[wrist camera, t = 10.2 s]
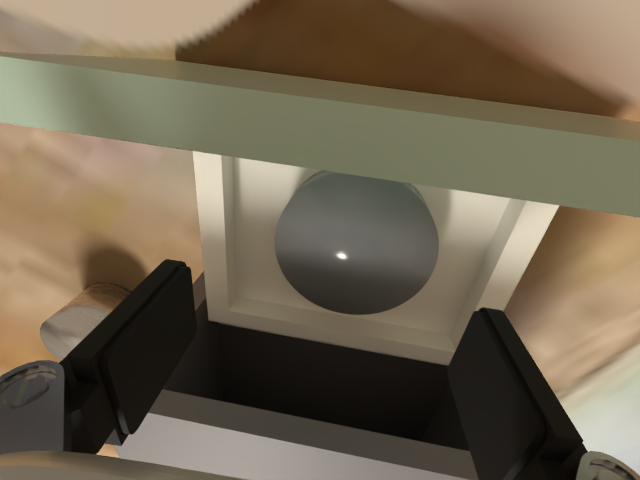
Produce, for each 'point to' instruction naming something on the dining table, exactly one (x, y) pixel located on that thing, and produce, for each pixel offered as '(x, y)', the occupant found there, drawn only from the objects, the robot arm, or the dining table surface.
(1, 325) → the dining table surface
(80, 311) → the ball
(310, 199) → the grey round dome
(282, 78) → the green drawer
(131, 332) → the robot arm
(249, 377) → the grey drawer cabinet
